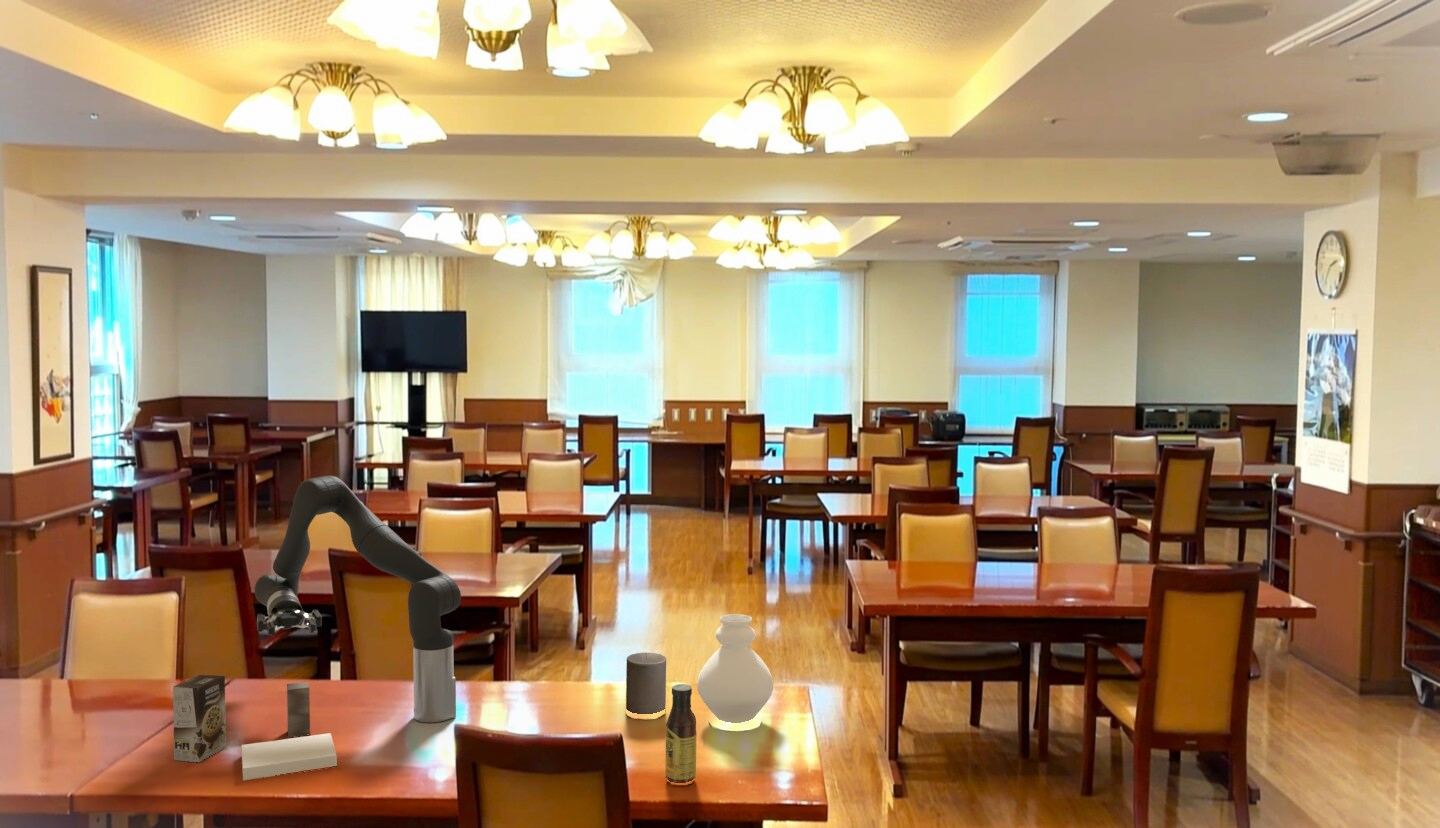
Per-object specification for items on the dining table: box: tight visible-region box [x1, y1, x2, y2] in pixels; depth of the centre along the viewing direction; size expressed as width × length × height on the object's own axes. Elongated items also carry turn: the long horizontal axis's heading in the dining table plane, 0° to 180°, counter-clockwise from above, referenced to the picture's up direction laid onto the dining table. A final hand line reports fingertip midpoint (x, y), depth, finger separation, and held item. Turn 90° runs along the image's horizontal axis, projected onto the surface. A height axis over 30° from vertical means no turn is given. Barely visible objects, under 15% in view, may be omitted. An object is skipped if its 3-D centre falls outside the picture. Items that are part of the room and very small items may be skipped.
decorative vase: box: [696, 613, 774, 723], centre depth 255 cm, size 18×18×25 cm
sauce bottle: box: [665, 683, 698, 783], centre depth 220 cm, size 6×6×20 cm
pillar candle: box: [625, 652, 667, 714], centre depth 261 cm, size 10×10×15 cm
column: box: [286, 681, 311, 738], centre depth 246 cm, size 4×4×11 cm
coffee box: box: [172, 674, 227, 763], centre depth 233 cm, size 9×6×16 cm
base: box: [241, 732, 338, 781], centre depth 230 cm, size 18×14×2 cm
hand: (293, 630), depth 253 cm, fingers open, 8 cm apart
